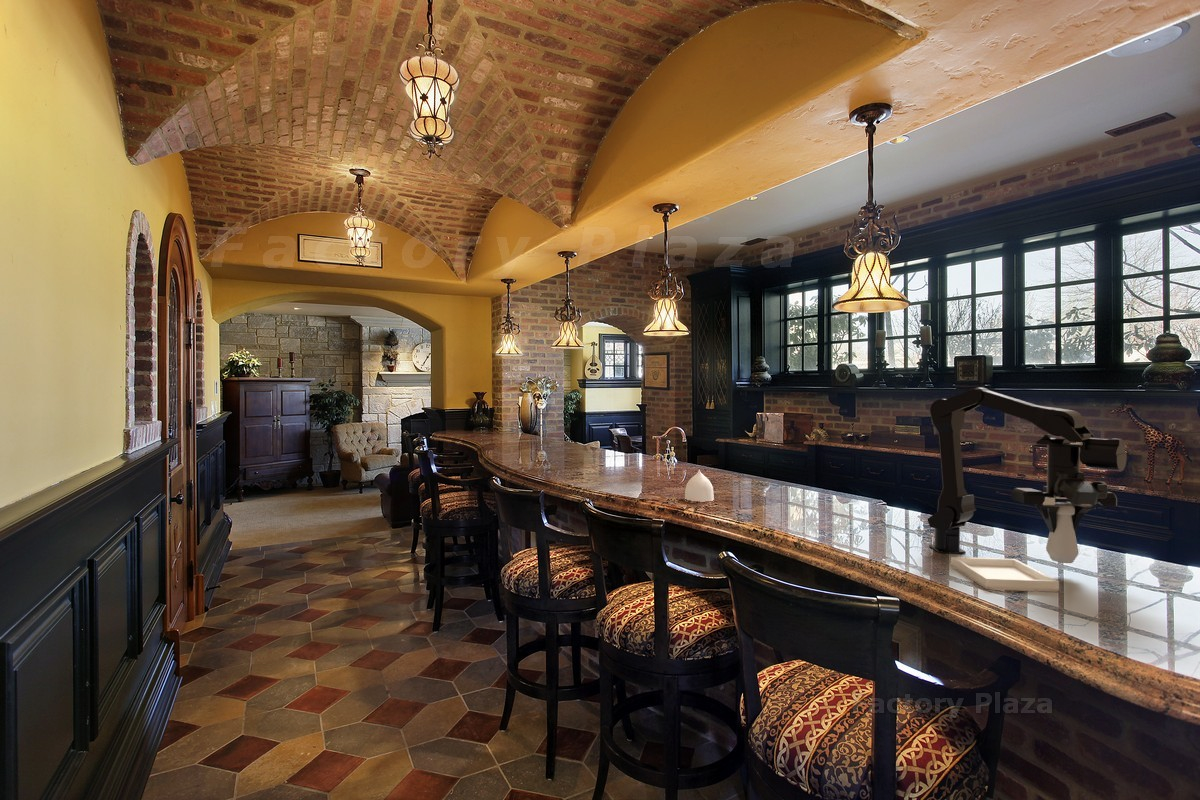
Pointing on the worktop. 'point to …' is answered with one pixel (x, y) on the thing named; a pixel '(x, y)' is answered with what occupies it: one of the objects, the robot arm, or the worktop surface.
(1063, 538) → the salt shaker
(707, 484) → the teardrop
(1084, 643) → the worktop surface
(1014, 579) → the tray
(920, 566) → the worktop surface
